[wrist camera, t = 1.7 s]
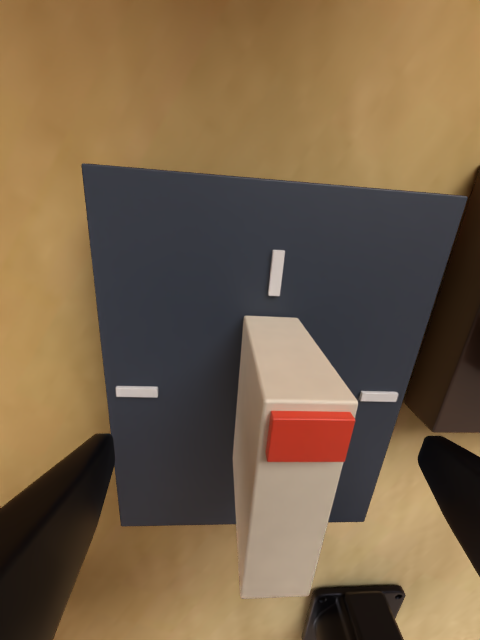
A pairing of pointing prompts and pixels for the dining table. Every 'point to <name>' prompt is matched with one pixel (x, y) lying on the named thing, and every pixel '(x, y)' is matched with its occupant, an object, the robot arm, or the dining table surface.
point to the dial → (285, 455)
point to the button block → (453, 339)
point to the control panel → (250, 300)
